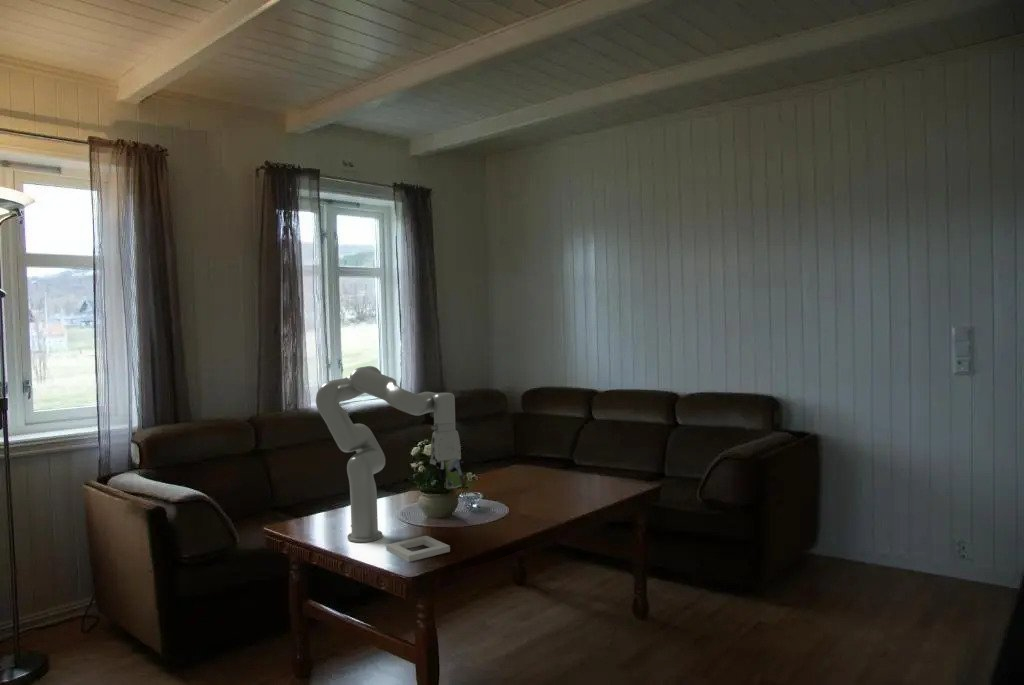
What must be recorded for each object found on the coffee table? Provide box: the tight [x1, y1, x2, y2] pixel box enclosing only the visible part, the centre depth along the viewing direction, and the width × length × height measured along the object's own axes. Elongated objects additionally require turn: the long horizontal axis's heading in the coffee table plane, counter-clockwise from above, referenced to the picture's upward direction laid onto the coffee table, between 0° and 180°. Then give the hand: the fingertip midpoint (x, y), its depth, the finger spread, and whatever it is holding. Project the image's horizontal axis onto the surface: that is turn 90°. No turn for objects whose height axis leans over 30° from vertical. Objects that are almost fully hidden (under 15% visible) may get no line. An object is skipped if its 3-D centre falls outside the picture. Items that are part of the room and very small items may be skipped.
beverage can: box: [444, 458, 465, 489], centre depth 261 cm, size 6×7×12 cm
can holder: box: [385, 535, 451, 563], centre depth 252 cm, size 16×16×2 cm
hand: (446, 478), depth 260 cm, fingers closed on beverage can
